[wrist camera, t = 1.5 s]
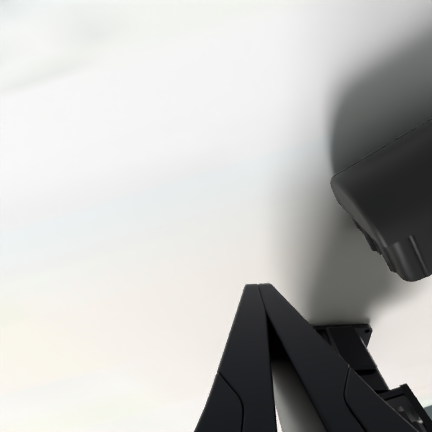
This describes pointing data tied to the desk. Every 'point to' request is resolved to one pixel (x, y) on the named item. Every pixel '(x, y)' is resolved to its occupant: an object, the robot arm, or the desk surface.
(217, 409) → the robot arm
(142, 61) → the desk surface
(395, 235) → the end cap
